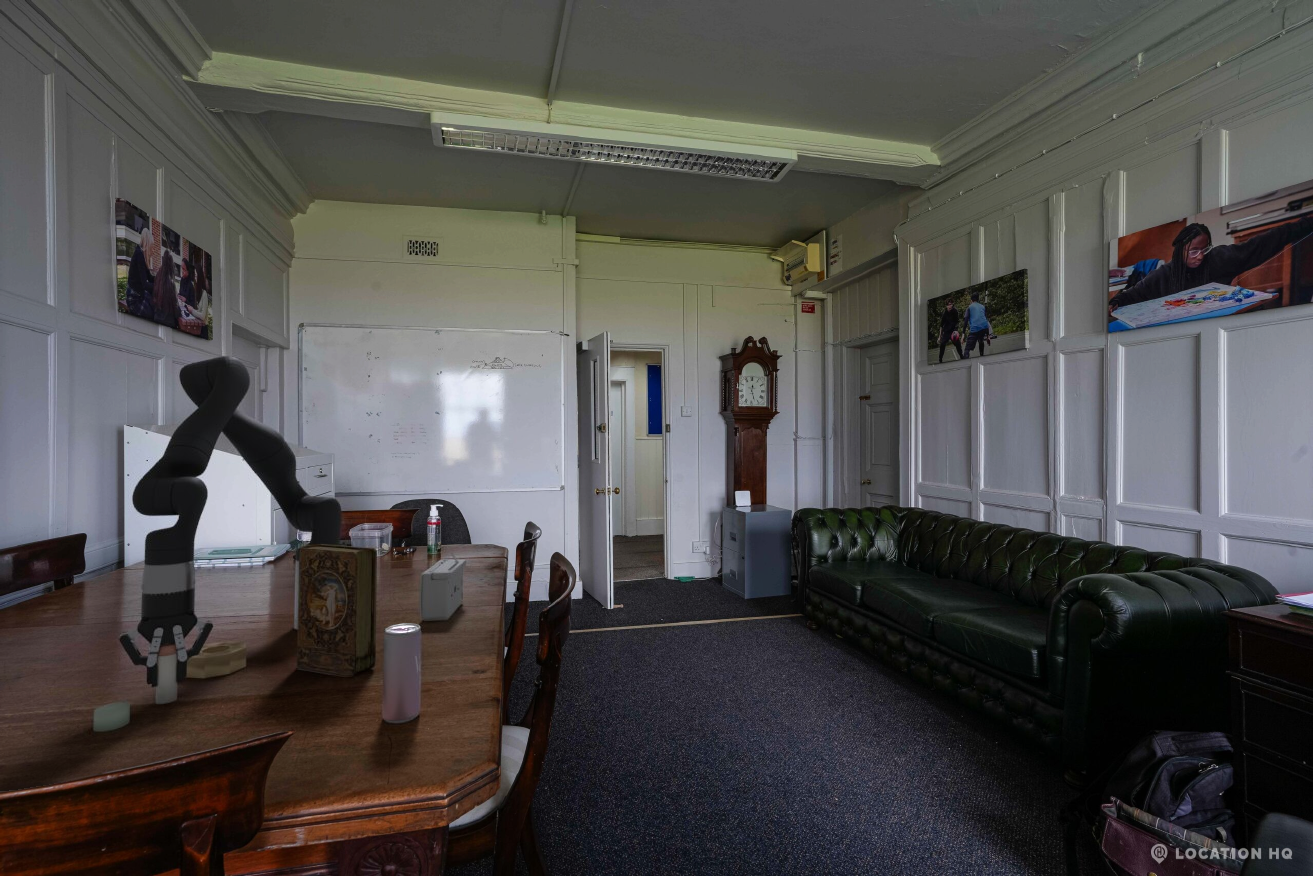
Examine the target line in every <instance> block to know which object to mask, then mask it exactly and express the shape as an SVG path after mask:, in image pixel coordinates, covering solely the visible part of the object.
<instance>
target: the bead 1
mask: <svg viewBox="0 0 1313 876" xmlns="http://www.w3.org/2000/svg"><path fill="white" fill-rule="evenodd" d="M130 704H131V703H130V702H128V701H118V702H112V703H111V702H110V703H107V704H104V705H103V704H102V705H101V706H99V707H97V708H95V709H94V711H93V726H92V727H93V731H94V732H109V731H114V730H117V729H120V728H123V727H125V726H127V725H128V724H130V714H131V708H130V707H131V705H130Z"/></svg>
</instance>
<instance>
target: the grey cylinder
mask: <svg viewBox="0 0 1313 876" xmlns="http://www.w3.org/2000/svg"><path fill="white" fill-rule="evenodd" d="M178 659H179V657H178V652H177V648H176V644H165V645H162V646H159V651H158V654H157V658H156V663H157V687H155V704H156V705H164V704H169V703H173V702H174V701H175V702H176V700H177V699H178V683H177V662H178Z"/></svg>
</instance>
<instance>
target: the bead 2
mask: <svg viewBox="0 0 1313 876" xmlns="http://www.w3.org/2000/svg"><path fill="white" fill-rule="evenodd" d="M246 666H247V646H246V644H245V641H244V642H243V641H221V642H216V643H215V642H214V643H209V644H208V643H207V644H204V645H203V647H202V649H201V651H200V653H199V654H198V655H196V656H193V657H190V658H189V659H188V660H187V675H186V677H185V678H189V679H190V678H192V679H207V678H213V677H218V676H225V675H229V674H230V675H231V674H232V673H234V672H237V671H239V670H241V669H244V668H247V667H246Z"/></svg>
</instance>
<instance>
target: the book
mask: <svg viewBox="0 0 1313 876" xmlns="http://www.w3.org/2000/svg"><path fill="white" fill-rule="evenodd" d="M298 548H299V592H298V630H297V641H296V642H297V646H296V647H297V649H296V652H297V653H296V669H297V670H300V671H308V672H313V673H318V674H324V675H331V676H336V677H341V678H342V677H344V678H353V677H355V675H356V674H358V673H361V672H363V671H367V670H371V669H373V668H375V666H376V654H377V649H376V647H377V644H376V643H377V587H378V586H377V581H378V580H377V579H378V578H377V576H378V575H377V574H378V567H377V565H378V563H377V561H378V551H377V549H376V548H374V547H363V546H351V545H340V544H339V545H326V544H317V545H308V546H305V545H302V546H300V547H298Z"/></svg>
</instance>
